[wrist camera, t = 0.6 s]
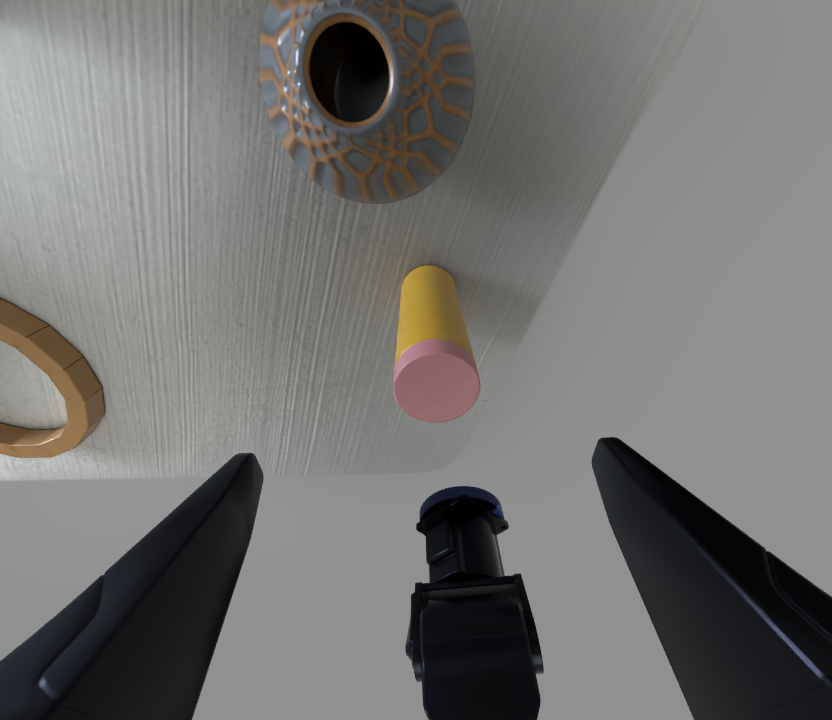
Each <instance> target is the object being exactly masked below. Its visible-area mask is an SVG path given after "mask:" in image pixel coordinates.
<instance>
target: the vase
mask: <svg viewBox="0 0 832 720" xmlns="http://www.w3.org/2000/svg"><path fill="white" fill-rule="evenodd" d="M259 74H260V82H261V88H262V93H263V98H264V102H265V105H266V109H267V112H268V115H269V117H270V120H271V123H272V125H273V127H274V129H275V132H276V134H277V135H278V137H279V139H280V141H281V143H282V144H283V146H284V148H285V149H286V151H287V152H288V154H289V155H290V156H291V157H292V159H293V160H294V161H295V163H296V164H297V165H298V166H299V167H300V168H301V169H302V170H303V171H304V172H305V173H306V174H307V175H308V176H309V177H310V178H311V179H312V180H314V181H315V182H316V183H318V184H319V185H320V186H322V187H323V188H325V189H327V190H328V191H330V192H332V193H334V194H336V195H338V196H340V197H342V198H345V199H348V200H351V201H355V202H360V203H367V204H384V203H391V202H396V201H400V200H403V199H406V198H408V197H411V196H413V195H415V194H417V193H418V192H420V191H422V190H423V189H425V188H426V187H428V186H429V185H430V184H431V183H433V182H434V181H435V180H436V179H437V178H438V177H439V176H440V175H441V174H442V173H443V172H444V171H445V169H446V168H447V167H448V166H449V164H450V163H451V161H452V160H453V158H454V157H455V155H456V153H457V152H458V150H459V148H460V146H461V144H462V142H463V139H464V137H465V134H466V132H467V129H468V126H469V122H470V118H471V114H472V109H473V102H474V92H475V70H474V59H473V52H472V46H471V42H470V38H469V34H468V31H467V27H466V24H465V21H464V19H463V17H462V14H461V12H460V10H459V8H458V5H457V3H456V1H455V0H270V1H269V4H268V6H267V9H266V12H265V16H264V19H263V24H262V29H261V35H260V43H259Z"/></svg>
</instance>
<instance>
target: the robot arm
mask: <svg viewBox="0 0 832 720" xmlns="http://www.w3.org/2000/svg"><path fill="white" fill-rule="evenodd" d="M592 468H593V471H594V474H595V477H596V480H597V484H598V487H599V490H600V494H601V497H602V500H603V503H604V506H605V510H606V513H607V516H608V519H609V522H610V525H611V527H612V530H613V532H614V535H615V537H616V539H617V542H618V544H619V546H620V549H621V551H622V553H623V556H624V558H625V560H626V562H627V565H628V567H629V570H630V572H631V574H632V577H633V579H634V581H635V583H636V586H637V588H638V590H639V593H640V595H641V597H642V600H643V602H644V604H645V606H646V609H647V611H648V613H649V616H650V618H651V621H652V623H653V625H654V628H655V630H656V632H657V634H658V637H659V639H660V642H661V644H662V646H663V648H664V651H665V653H666V655H667V657H668V660H669V662H670V665H671V667H672V669H673V672H674V674H675V676H676V679H677V681H678V683H679V686H680V688H681V690H682V693H683V695H684V697H685V700H686V702H687V704H688V706H689V709H690V711H691V713H692V716H693V718H694V720H832V597H831V596H830V595H829V594H827V593H826V592H824V591H823V590H821V589H820V588H818V587H817V586H816V585H814V584H813V583H812V582H810V581H809V580H807V579H806V578H805V577H803V576H802V575H801V574H799V573H798V572H796V571H795V570H794V569H792V568H791V567H790V566H788V565H787V564H786V563H784V562H783V561H781V560H780V559H779V558H778V557H776V556H775V555H774V554H772V553H771V552H769V551H766V549H765V548H764V547H763V546H761V545H760V544H759V543H757V542H756V541H755V540H753V539H752V538H751V537H749V536H748V535H747V534H745V533H744V532H743V531H741V530H740V529H739V528H737V527H736V526H735V525H733V524H732V523H731V522H729V521H728V520H726V519H725V518H724V517H723V516H721V515H720V514H719V513H717V512H716V511H715V510H713V509H712V508H711V507H709V506H708V505H707V504H705V503H704V502H703V501H701V500H700V499H699V498H697V497H696V496H695V495H693V494H692V493H691V492H689V491H688V490H687V489H685V488H684V487H682V486H681V485H680V484H679V483H677V482H676V481H675V480H673V479H672V478H670V477H669V476H668V475H667V474H665V473H664V472H662V471H661V470H660V469H658V468H657V467H656V466H654V465H653V464H651V463H650V462H649V461H648V460H646V459H645V458H644V457H643V456H641V455H640V454H638V453H637V452H636V451H634V450H633V449H632V448H630V447H629V446H628V445H626V444H625V443H624V442H622V441H621V440H620V439H618V438H615V437H611V438H600V439H599V440H598V442H597V446H596V448H595V451H594V454H593V457H592ZM262 484H263V472H262V469H261V467H260V465H259V463H258V461H257V458H256V456H255V455H254V454H253V453H239V454H236V455H235V456H233V457H232V458H231V459H230V460H229V461H228V462H227V463H226V464H224V465H223V466H222V467H221V468H220V469H219V470H218V471H217V472H216V473H215V474H213V475H212V476H211V477H210V478H209V479H208V480H207V481H206V482H205V483H203V484H202V485H201V486H200V487H199V488H198V489H197V490H196V491H195V492H193V493H192V494H191V495H190V496H189V497H188V498H187V499H186V500H185V501H183V502H182V503H181V504H180V505H179V506H178V507H177V508H176V509H175V510H173V511H172V512H171V513H170V514H169V515H168V516H167V517H166V518H165V519H163V520H162V521H161V522H160V523H159V524H158V525H157V526H156V527H155V528H154V529H152V530H151V531H150V532H149V533H148V534H147V535H146V536H145V537H144V538H142V539H141V540H140V541H139V542H138V543H137V544H136V545H135V546H134V547H132V548H131V549H130V550H129V551H128V552H127V553H126V554H125V555H124V556H122V557H121V558H120V559H119V560H118V561H117V562H116V563H115V564H114V565H112V566H111V567H110V568H109V569H108V570H107V571H106V572H105V574H104V575H102V576H100V577H99V578H98V579H97V580H96V581H95V582H94V583H92V584H91V585H90V586H89V587H88V588H87V589H86V590H85V591H83V592H82V593H81V594H80V595H79V596H78V597H77V598H75V599H74V600H73V601H72V602H71V603H70V604H69V605H67V607H65V608H64V609H63V610H62V611H61V612H60V613H58V614H57V615H56V616H55V617H54V618H53V619H51V620H50V621H49V622H48V623H46V624H45V625H44V626H43V627H41V628H40V629H39V630H38V631H37V632H35V633H34V634H33V635H32V636H31V637H30V638H28V639H27V640H26V641H25V642H23V643H22V644H21V645H20V646H18V647H17V648H16V649H15V650H13V651H12V652H11V653H10V654H9V655H7V656H6V657H5V658H4V659H2V660H1V661H0V720H192V718H193V715H194V712H195V709H196V705H197V702H198V699H199V696H200V693H201V690H202V687H203V684H204V681H205V678H206V675H207V671H208V669H209V665H210V662H211V659H212V656H213V653H214V650H215V647H216V644H217V641H218V638H219V635H220V632H221V629H222V626H223V622H224V620H225V616H226V613H227V610H228V607H229V604H230V601H231V598H232V595H233V592H234V589H235V586H236V583H237V579H238V576H239V573H240V570H241V567H242V564H243V561H244V558H245V555H246V552H247V549H248V545H249V542H250V539H251V535H252V531H253V527H254V522H255V517H256V513H257V508H258V503H259V498H260V494H261V489H262ZM508 527H509V526H508V522H507V521H506V520H504V519H502V518H501V517H499V516H498V515H496V514H495V513H493V512H492V511H490V510H489V509H487V508H486V507H484V506H483V505H481V504H480V503H478V502H476V501H475V500H473V499H472V498H470V497H469V496H467V495H461V496H459V497H457V498H456V499H454V500H453V501H451V502H449V503H448V504H446V505H445V506H443V507H442V508H440V509H438V510H437V511H435V512H434V513H432V514H431V515H429V516H428V517H426V518H424V519H423V520H421V521H420V522H418V523H417V524H416V530H417V531H418V532H420V533H422V534H424V535H425V536H426V559H427V563H428V564H429V575H430V576H429V577H430V583H422V582H419V583H415V592H414V593H413V594H412V595H411V618H410V625H409V630H408V636H407V642H406V655H407V656H408V657H409V659H410V660H411V661H412V665H413V669H414V674H415V678H416V681H417V682H422V690H423V706H424V710H425V713H426V715H427V717H428V719H429V720H537V717H538V712H539V707H540V694H539V689H538V684H537V679H536V674H543V673H544V672H543V661H542V655H541V649H540V644H539V639H538V635H537V631H536V626H535V622H534V619H533V615H532V612H531V608H530V605H529V601H528V598H527V594H526V591H525V587H524V584H523V580H522V577H521V574H514V575H512V576H504V571H503V566H502V561H501V556H500V551H499V546H498V541H497V536H496V535H498V534H499V533H501V532H503V531H505V530H507V529H508Z"/></svg>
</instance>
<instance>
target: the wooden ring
mask: <svg viewBox="0 0 832 720" xmlns="http://www.w3.org/2000/svg"><path fill="white" fill-rule="evenodd" d="M0 340H1V341H3V342H5V343H7V344H9V345H11V346H13V347H15V348H16V349H18V350H19V351H20V352H21V353H22V354H24V355H25V356H26V357H27V358H28V359H30V360H31V361H32V362H33V363H34V364H36V365H37V366H38V367H39V368H40V369H42V370H43V371H44V372H45V373H46V374H48V376H49V377H50V379H51V380H52V382H53V383H54V384H55V386H56V387H57V389H58V390H59V392H60V393H61V395H62V396H63V397H64V399H65V405H66V411H67V416H68V422H67V423H66V425H65V426H64V427H62V428H60V429H58V430H28V429H23V428H19V427H15V426H10V425H6V424H2V423H0V454H3V455H8V456H13V457H17V458H18V457H19V458H37V457H54V456H56V455H59V454H61V453H63V452H66V451H68V450H71V449H73V448H75V447H77V446H78V445H79V444H81V443H82V442H83V441H84V440H85V439H86V438H87V437H88V436H89V435H90V434H91V433H92V432H93V431H94V429H95V428H96V426H97V425H98V423H99V422H100V420H101V418H102V417H103V415H104V402H103V392H102V388H101V385H100V383H99V381H98V380H97V378H96V376H95V375H94V373H93V372H92V370H91V368H90V367H89V365H88V363H87V362H86V360H85V358H84V357H82V356H83V355H82V354H80V353H79V352H78V351H77V350H76V349H75V348H74V347H73V346H72V345H70V344H69V343H68V342H67V341H66V340H65V339H64V338H63V337H62V336H61V335H59V334H58V333H57V332H56V331H55V330H54V329H53V328H52V327H51V326H48V324H46V323H44V322H43V321H41V320H39V319H37V318H35V317H34V316H32V315H30V314H28V313H26V312H25V311H23V310H21V309H19V308H17V307H16V306H14V305H12V304H10V303H8V302H7V301H5V300H2V299H0Z"/></svg>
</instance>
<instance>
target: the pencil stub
mask: <svg viewBox="0 0 832 720" xmlns="http://www.w3.org/2000/svg"><path fill="white" fill-rule="evenodd" d="M393 392H394V397H395V399H396V401H397V403H398V405H399V406H400V407H401V409H402V410H403V411H404V412H406V413H407V414H408V415H410V416H412V417H414V418H416V419H419V420H422V421H426V422H444V421H449V420H453V419H455V418H457V417H459V416H461V415H463V414H464V413H466V412H467V411H468V410H469V409H470V408H471V407H472V406H473V405H474V403H475V402H476V400H477V398H478V395H479V392H480V380H479V375H478V372H477V368H476V364H475V360H474V356H473V352H472V348H471V344H470V340H469V337H468V333H467V329H466V325H465V321H464V317H463V313H462V309H461V305H460V302H459V298H458V294H457V290H456V286H455V283H454V280H453V278H452V277H451V275H450V274H449V273H448V272H447V271H446V270H444V269H442V268H440V267H437V266H433V265H425V266H421V267H418V268H416V269H414V270H412V271H411V272H410V273H409V274H408V275H407V276H406V278H405V279H404V281H403V284H402V288H401V299H400V311H399V323H398V335H397V346H396V358H395V371H394V382H393Z"/></svg>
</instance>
